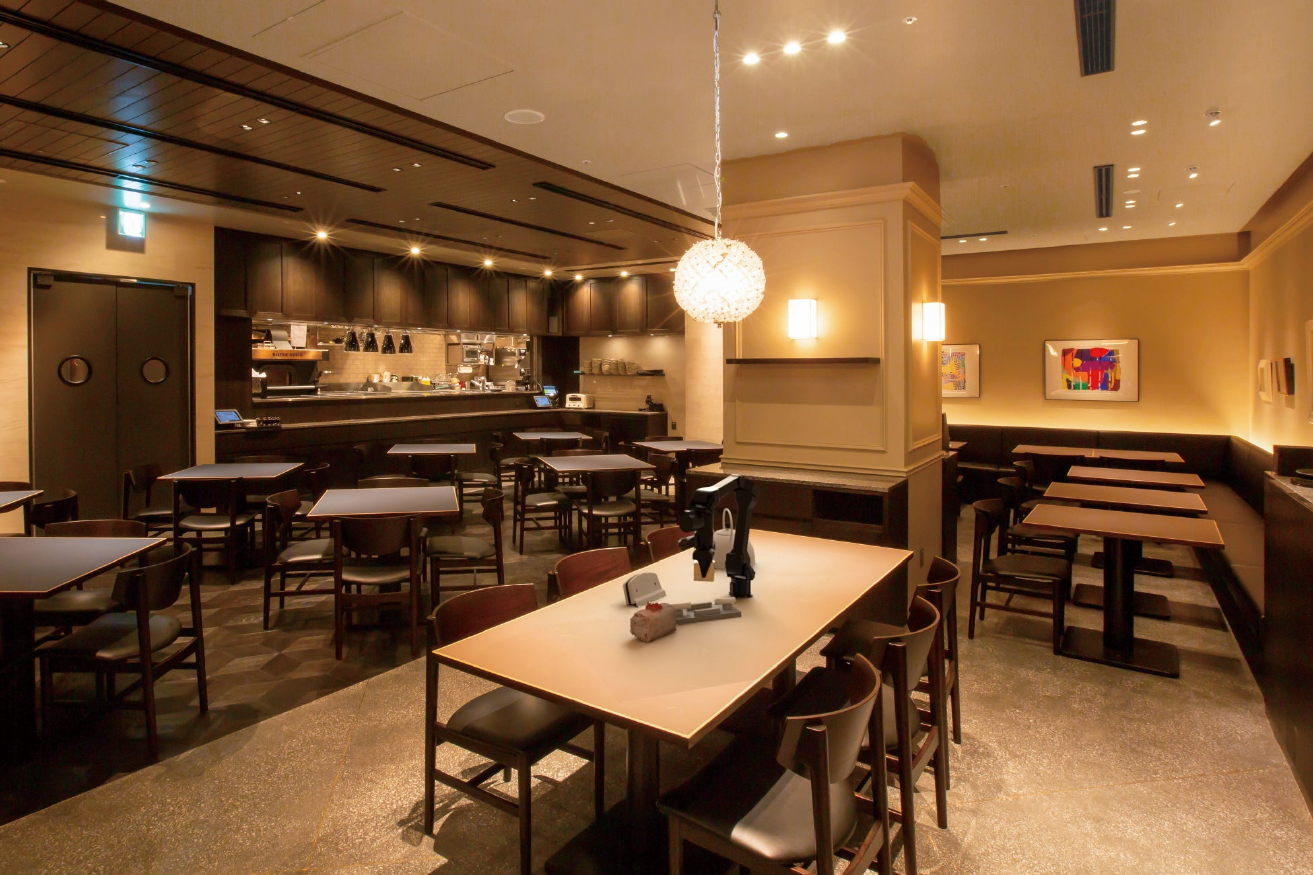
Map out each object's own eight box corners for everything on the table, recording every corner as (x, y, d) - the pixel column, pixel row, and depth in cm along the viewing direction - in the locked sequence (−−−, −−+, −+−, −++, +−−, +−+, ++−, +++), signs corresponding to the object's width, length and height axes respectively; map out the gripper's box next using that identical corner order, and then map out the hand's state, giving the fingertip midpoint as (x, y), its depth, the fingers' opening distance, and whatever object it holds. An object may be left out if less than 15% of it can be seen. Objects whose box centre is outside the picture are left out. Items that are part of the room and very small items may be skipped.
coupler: (693, 580, 226) (693, 562, 226) (694, 577, 230) (695, 559, 230) (713, 581, 225) (713, 563, 225) (714, 578, 229) (714, 560, 229)
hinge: (637, 607, 232) (629, 577, 234) (627, 609, 235) (619, 580, 237) (667, 595, 246) (659, 567, 247) (656, 597, 249) (649, 569, 250)
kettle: (695, 555, 303) (695, 504, 302) (747, 554, 305) (747, 502, 304) (704, 570, 278) (704, 514, 277) (761, 569, 280) (761, 513, 279)
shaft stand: (727, 606, 232) (727, 592, 232) (741, 616, 223) (741, 601, 223) (665, 614, 225) (665, 599, 225) (676, 624, 216) (676, 609, 215)
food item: (648, 645, 199) (648, 611, 198) (627, 638, 204) (627, 605, 203) (679, 632, 209) (678, 600, 208) (658, 626, 214) (658, 594, 213)
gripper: (683, 522, 237) (682, 568, 238) (676, 532, 219) (676, 582, 220) (716, 523, 236) (715, 569, 237) (712, 534, 217) (711, 584, 218)
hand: (704, 576), depth 228 cm, fingers closed on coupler, 4 cm apart
